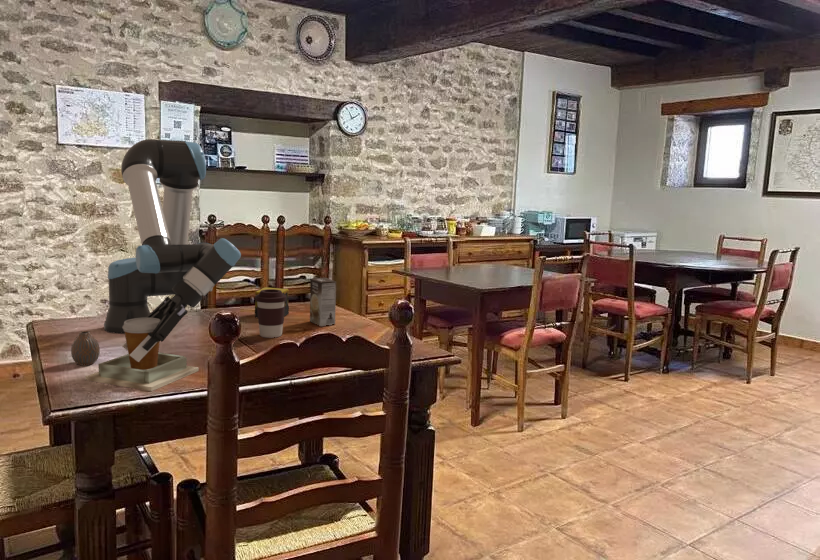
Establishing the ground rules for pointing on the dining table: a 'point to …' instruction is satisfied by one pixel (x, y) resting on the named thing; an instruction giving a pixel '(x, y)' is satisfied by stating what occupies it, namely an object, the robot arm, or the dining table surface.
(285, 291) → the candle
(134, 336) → the disposable coffee cup
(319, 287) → the coffee box
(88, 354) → the vase
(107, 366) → the tray
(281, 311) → the coffee cup
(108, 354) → the dining table surface
